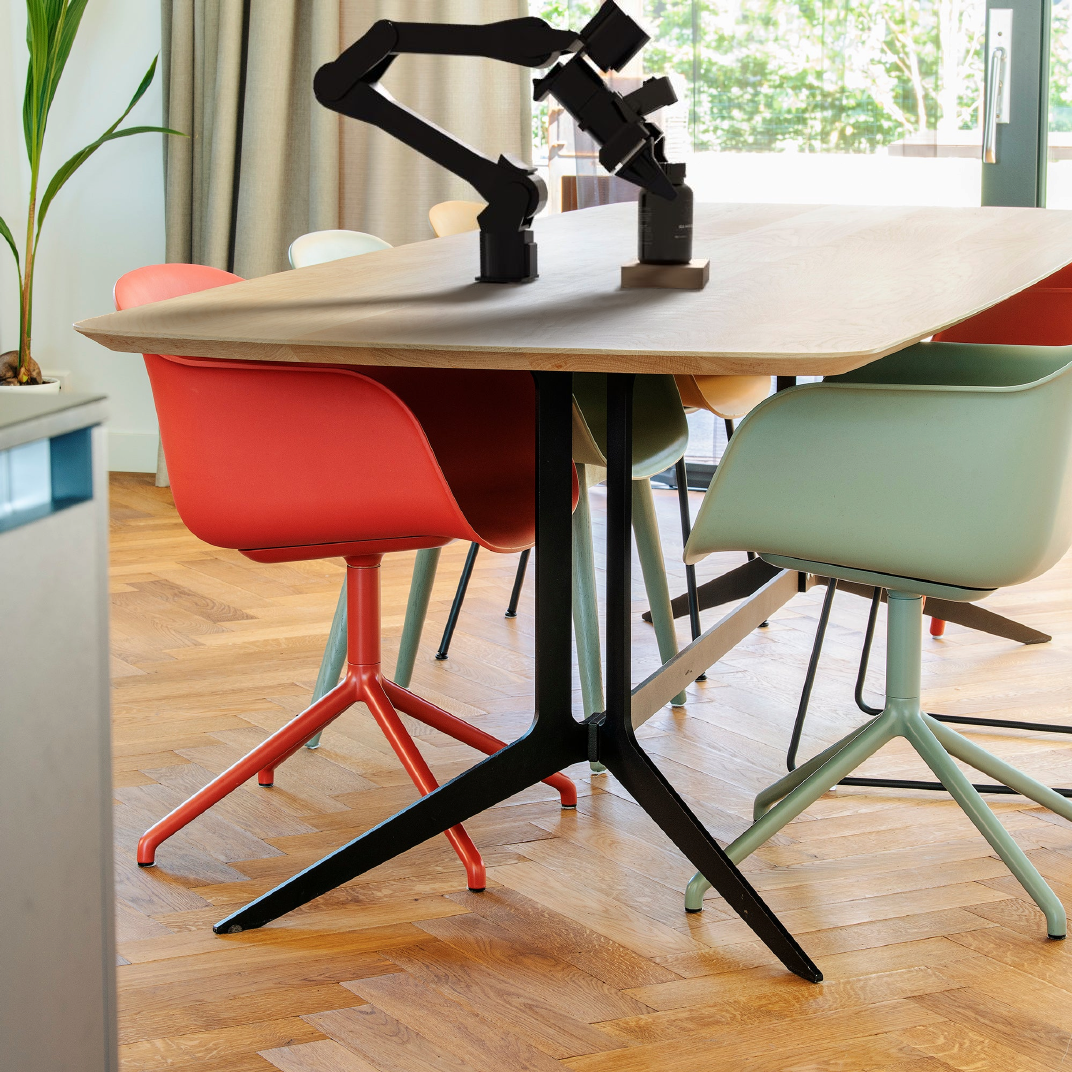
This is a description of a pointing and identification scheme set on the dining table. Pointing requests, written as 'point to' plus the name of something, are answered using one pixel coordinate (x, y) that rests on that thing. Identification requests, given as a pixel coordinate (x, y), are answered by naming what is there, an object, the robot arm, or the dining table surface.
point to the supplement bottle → (666, 221)
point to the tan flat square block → (665, 274)
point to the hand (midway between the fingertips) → (679, 196)
